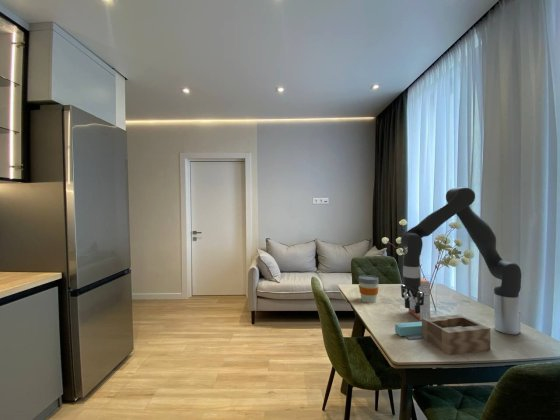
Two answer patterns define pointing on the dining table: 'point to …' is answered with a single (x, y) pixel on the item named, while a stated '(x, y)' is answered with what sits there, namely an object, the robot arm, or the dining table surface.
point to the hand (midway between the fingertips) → (412, 310)
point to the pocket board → (456, 334)
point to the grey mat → (414, 337)
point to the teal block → (408, 328)
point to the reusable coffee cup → (368, 288)
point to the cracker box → (426, 307)
